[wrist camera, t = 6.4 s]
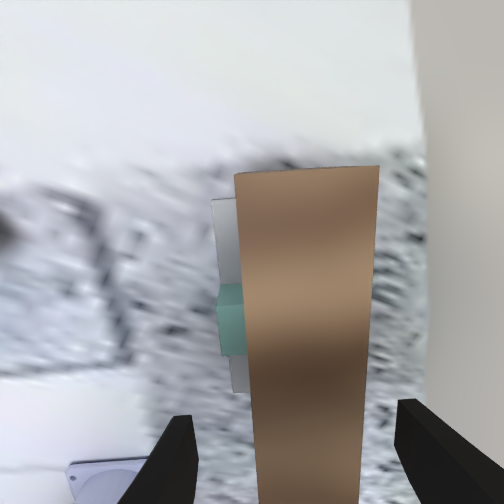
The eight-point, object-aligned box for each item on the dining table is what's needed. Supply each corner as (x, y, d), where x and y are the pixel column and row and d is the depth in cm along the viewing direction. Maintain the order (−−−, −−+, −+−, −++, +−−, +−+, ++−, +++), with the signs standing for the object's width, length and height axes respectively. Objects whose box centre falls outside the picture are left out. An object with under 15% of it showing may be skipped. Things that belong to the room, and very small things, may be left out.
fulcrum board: (339, 380, 21) (357, 419, 18) (233, 388, 21) (230, 429, 18) (342, 189, 17) (365, 194, 14) (212, 199, 17) (203, 206, 14)
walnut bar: (328, 416, 18) (358, 508, 13) (256, 421, 18) (259, 514, 13) (332, 166, 14) (379, 165, 9) (238, 172, 14) (233, 174, 9)
